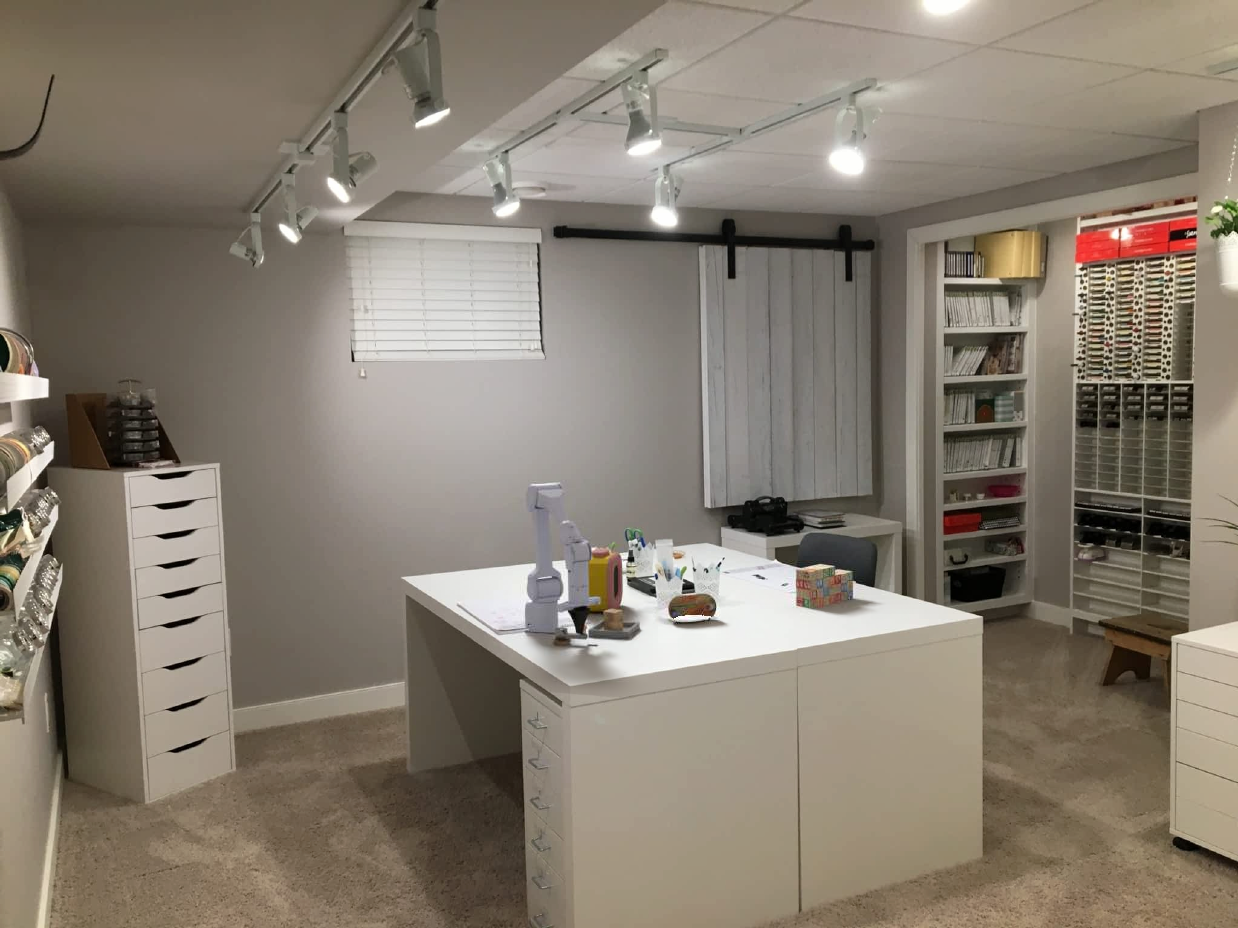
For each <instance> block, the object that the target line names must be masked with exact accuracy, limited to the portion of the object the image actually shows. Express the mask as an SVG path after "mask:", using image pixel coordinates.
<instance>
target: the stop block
mask: <svg viewBox="0 0 1238 928" xmlns="http://www.w3.org/2000/svg"><path fill="white" fill-rule="evenodd" d="M623 611H624V610H622V609H618V608H617V609H609V610H606V611H603V620H604V630H612V631H623V621H624V620H623V619H624V617H623V616H624V614H623V613H624V612H623Z"/></svg>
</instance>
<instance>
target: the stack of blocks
mask: <svg viewBox="0 0 1238 928" xmlns="http://www.w3.org/2000/svg"><path fill="white" fill-rule="evenodd" d="M853 574H854V572H853V571H851V570H844V569H839V568H838V569H836V566H835V565H829V564H823V563H818V564H815V565H814V564H813V565H810V566H805V567H801V568H796V569H795V576H796V578H795V590H796V592H795V593H796V594H795V596H796V598H795V601H796V602H795V604H796V605H795V606H797V607H801V608H805V609H806V608H807V609H816V608H821V607H825V606H828V605H827V604H829V605H832V604H831V603H833V604H837V603H839V602H838V601H841V602H843V601H842V600H845V601H848V600H847V599H849V598H853V599H854V579H853V577H854V576H853ZM849 600H850V599H849ZM836 602H837V603H836ZM820 606H821V607H820ZM815 607H816V608H815Z"/></svg>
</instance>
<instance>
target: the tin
mask: <svg viewBox="0 0 1238 928" xmlns="http://www.w3.org/2000/svg"><path fill="white" fill-rule="evenodd" d="M667 609H668V610H667V611H668V614H669V617H670V618H671V619H672V618H673V619H674V618H676V617H678V616H685V615H702V616H703V615H704V616H711V617H712V618H713V617H714V616H715V614H716V611H717V602H716V600H715V598H714V596H712V595H710V594H708V593H693V594H682V595H676V596H675V597H673V598H671V600H670V601H669V603H668V607H667ZM673 619H672V620H673Z"/></svg>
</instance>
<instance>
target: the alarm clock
mask: <svg viewBox="0 0 1238 928" xmlns="http://www.w3.org/2000/svg"><path fill="white" fill-rule="evenodd" d="M588 577H589V597H600V598H601V604H599V605H597V604H595V605H591V606H587V608H590V612H603V611H606V610H609V609H617V610H618V608H619V607H620V605H621V604H622V600H623V592H624V588H623V585H624V581H623V560H622V556H621V554H620V553H619V552H617V551H614V552H610V549H609V548H608V547H607V548H606V547H598V548H595V549H592V558H591V560H590V561H589V562H588Z"/></svg>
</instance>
